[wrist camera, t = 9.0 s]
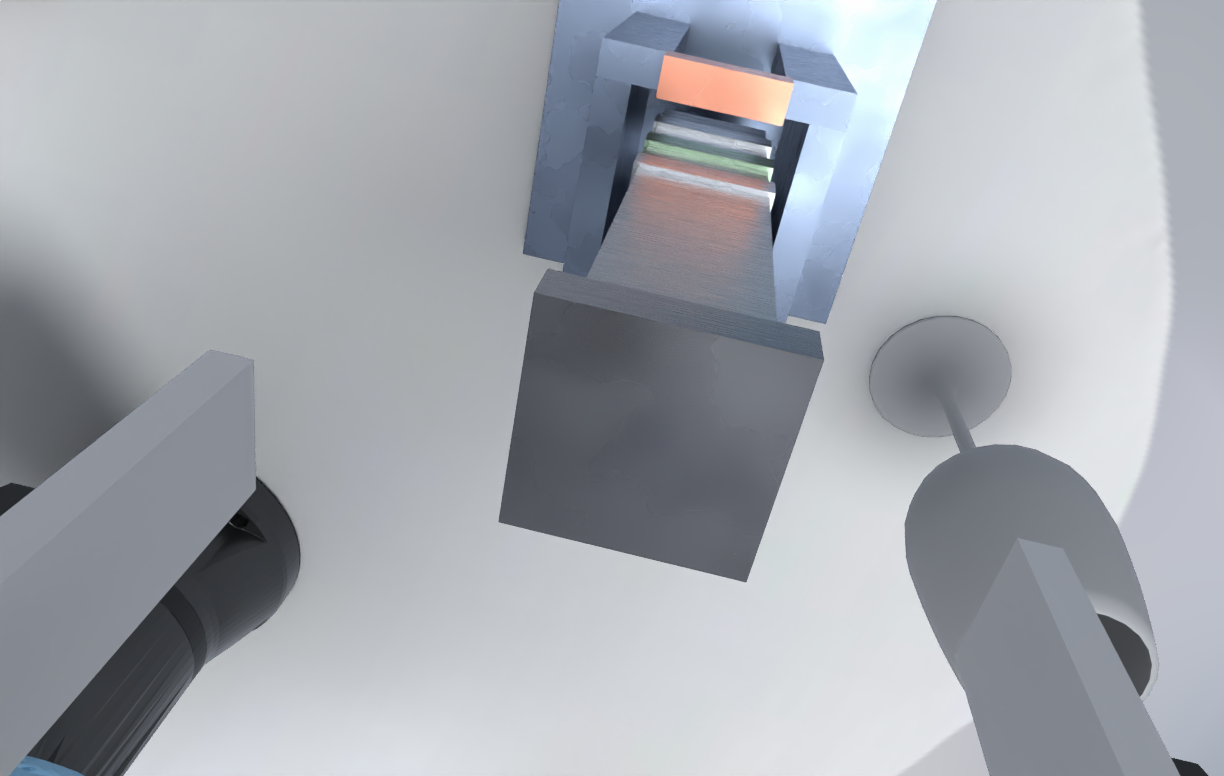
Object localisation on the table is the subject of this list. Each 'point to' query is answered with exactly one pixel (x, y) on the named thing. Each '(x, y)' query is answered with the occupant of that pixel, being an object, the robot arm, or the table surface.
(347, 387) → the table surface
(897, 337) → the wineglass
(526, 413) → the column
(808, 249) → the stand
